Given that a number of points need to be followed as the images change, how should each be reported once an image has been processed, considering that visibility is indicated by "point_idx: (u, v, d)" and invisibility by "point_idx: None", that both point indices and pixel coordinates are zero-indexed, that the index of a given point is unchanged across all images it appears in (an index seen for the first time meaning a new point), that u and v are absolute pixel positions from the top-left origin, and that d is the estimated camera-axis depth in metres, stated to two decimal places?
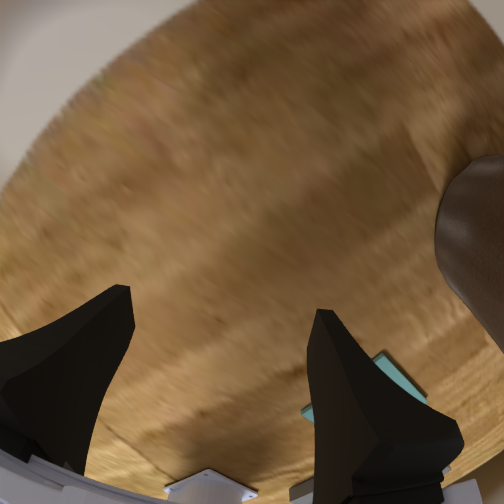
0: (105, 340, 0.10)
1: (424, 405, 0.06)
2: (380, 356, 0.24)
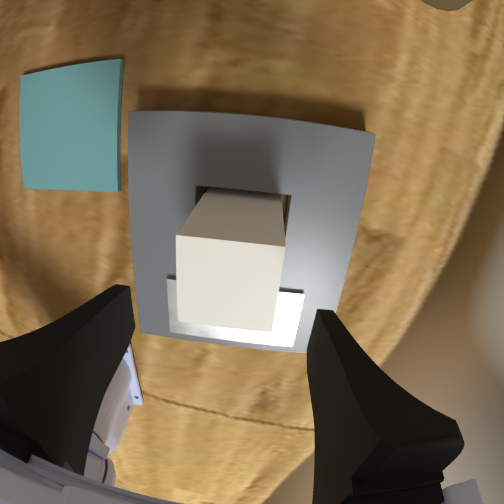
0: (105, 340, 0.10)
1: (425, 404, 0.06)
2: None
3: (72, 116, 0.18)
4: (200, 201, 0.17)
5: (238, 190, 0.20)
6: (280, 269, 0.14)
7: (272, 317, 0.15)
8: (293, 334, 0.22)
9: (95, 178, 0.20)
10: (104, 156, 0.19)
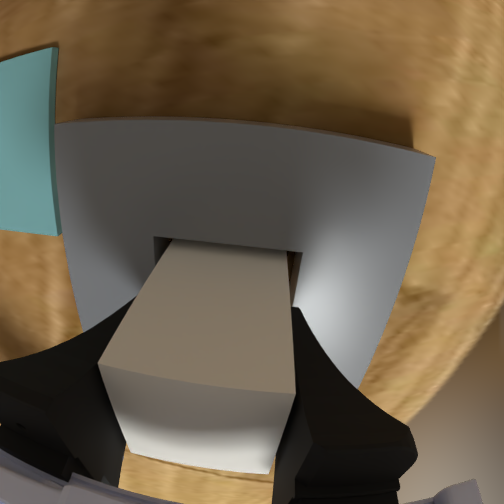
0: None
1: (379, 408, 0.06)
2: None
3: None
4: (157, 267, 0.11)
5: None
6: (284, 419, 0.07)
7: (269, 462, 0.08)
8: None
9: (29, 216, 0.13)
10: (36, 187, 0.12)
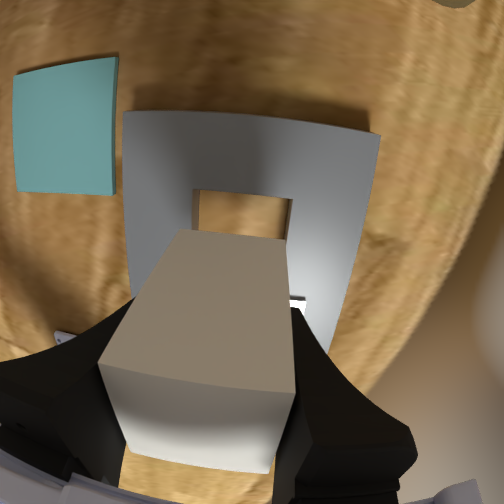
0: None
1: (379, 408, 0.06)
2: None
3: (65, 116, 0.17)
4: (157, 267, 0.11)
5: (221, 238, 0.13)
6: (284, 418, 0.07)
7: (269, 462, 0.08)
8: None
9: (89, 181, 0.19)
10: (98, 158, 0.18)
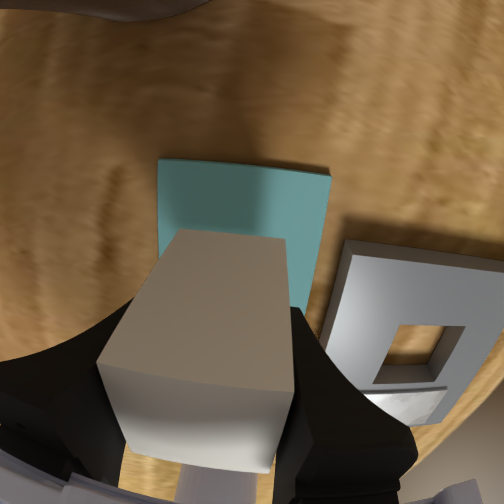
0: None
1: (379, 408, 0.06)
2: None
3: (253, 234, 0.17)
4: (156, 267, 0.11)
5: (220, 237, 0.13)
6: (283, 417, 0.07)
7: (269, 462, 0.08)
8: (428, 415, 0.22)
9: None
10: (294, 285, 0.19)
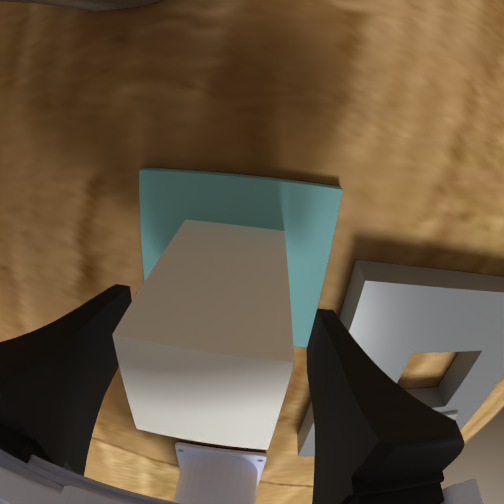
0: (105, 340, 0.10)
1: (425, 404, 0.06)
2: None
3: None
4: (165, 252, 0.11)
5: (224, 228, 0.14)
6: (283, 389, 0.08)
7: (269, 436, 0.09)
8: None
9: None
10: (297, 311, 0.16)
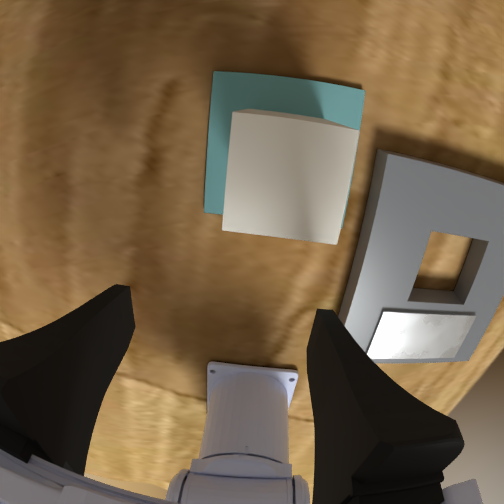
0: (105, 340, 0.10)
1: (425, 405, 0.06)
2: None
3: None
4: (245, 109, 0.15)
5: (280, 112, 0.17)
6: (352, 158, 0.11)
7: (339, 222, 0.12)
8: (458, 347, 0.23)
9: None
10: None
